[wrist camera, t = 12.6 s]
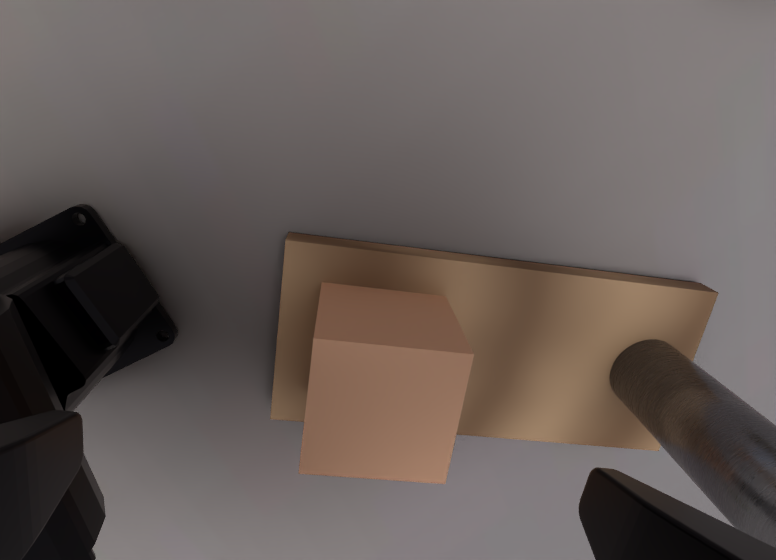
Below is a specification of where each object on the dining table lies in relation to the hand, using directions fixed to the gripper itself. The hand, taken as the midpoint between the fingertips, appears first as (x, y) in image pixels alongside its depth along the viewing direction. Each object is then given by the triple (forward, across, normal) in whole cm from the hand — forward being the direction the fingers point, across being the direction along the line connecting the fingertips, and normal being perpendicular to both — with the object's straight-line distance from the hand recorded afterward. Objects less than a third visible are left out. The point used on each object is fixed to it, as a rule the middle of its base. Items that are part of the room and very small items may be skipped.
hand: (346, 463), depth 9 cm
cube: (+12, +1, -4) cm, 12 cm away
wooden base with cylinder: (+13, +6, -3) cm, 15 cm away
